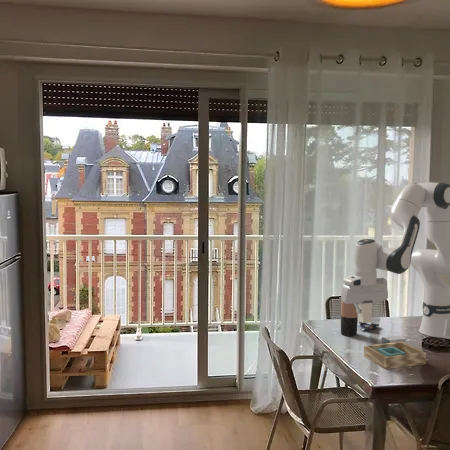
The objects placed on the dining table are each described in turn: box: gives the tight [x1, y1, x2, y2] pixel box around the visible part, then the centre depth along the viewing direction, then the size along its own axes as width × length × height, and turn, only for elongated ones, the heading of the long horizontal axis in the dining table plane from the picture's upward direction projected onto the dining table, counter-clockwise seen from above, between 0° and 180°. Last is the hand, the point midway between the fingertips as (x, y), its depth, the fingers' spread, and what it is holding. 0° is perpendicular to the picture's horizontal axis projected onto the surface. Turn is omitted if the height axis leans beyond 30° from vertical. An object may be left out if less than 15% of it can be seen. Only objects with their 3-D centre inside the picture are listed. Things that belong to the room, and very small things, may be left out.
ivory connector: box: [358, 300, 373, 324], centre depth 191 cm, size 4×4×9 cm
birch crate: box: [363, 342, 427, 370], centre depth 182 cm, size 18×14×4 cm
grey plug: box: [381, 335, 407, 344], centre depth 198 cm, size 9×4×4 cm, turn 107°
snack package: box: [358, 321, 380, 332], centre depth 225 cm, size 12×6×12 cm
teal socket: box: [378, 347, 406, 357], centre depth 181 cm, size 7×7×4 cm
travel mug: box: [340, 299, 359, 337], centre depth 215 cm, size 8×8×20 cm
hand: (364, 312), depth 191 cm, fingers closed on ivory connector, 4 cm apart
